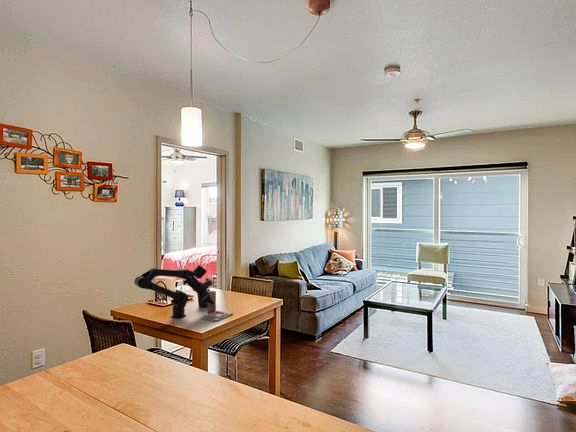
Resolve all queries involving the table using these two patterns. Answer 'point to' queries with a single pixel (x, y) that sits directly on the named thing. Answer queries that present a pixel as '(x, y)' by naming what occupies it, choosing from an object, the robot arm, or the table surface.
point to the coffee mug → (202, 303)
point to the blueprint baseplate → (217, 316)
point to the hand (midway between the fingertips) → (213, 301)
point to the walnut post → (212, 307)
